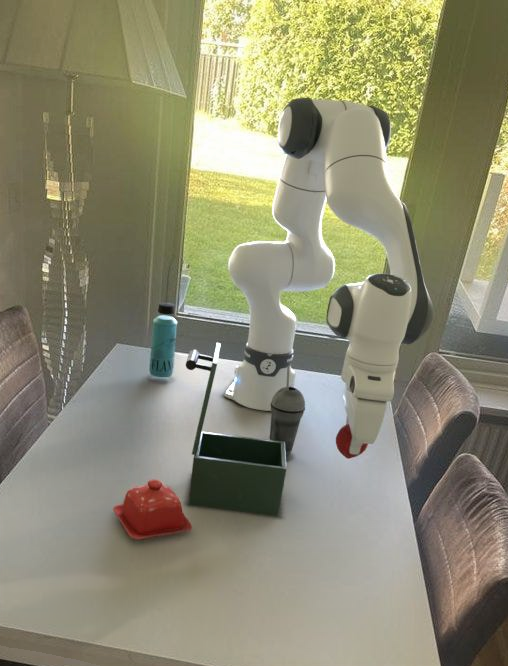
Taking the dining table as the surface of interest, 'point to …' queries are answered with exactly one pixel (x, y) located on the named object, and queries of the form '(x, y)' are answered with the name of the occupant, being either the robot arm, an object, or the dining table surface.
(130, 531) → the butter dish
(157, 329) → the beverage bottle
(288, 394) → the beverage cup
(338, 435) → the onion
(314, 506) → the dining table surface
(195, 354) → the green box lid
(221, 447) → the green box
